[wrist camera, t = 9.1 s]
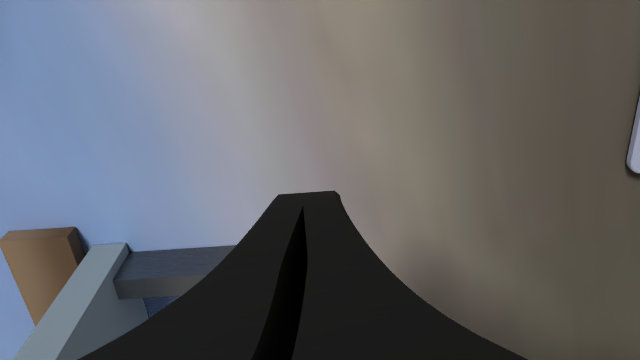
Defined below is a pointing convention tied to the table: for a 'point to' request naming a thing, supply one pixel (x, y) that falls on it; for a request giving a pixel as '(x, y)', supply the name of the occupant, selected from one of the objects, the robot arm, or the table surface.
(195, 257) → the keeper cleats
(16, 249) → the threshold strip
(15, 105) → the table surface
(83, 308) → the door panel
